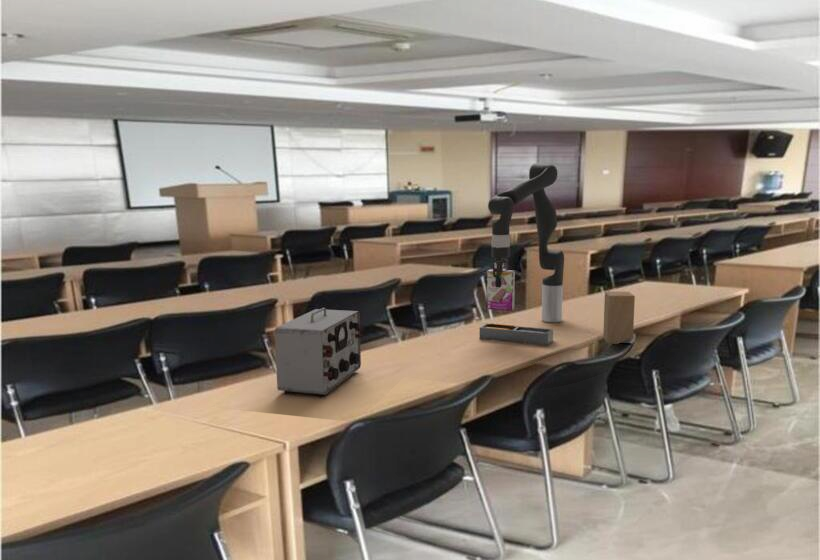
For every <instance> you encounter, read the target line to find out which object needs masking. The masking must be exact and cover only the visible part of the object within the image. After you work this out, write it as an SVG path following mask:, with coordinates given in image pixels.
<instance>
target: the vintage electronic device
mask: <svg viewBox="0 0 820 560" xmlns="http://www.w3.org/2000/svg"><path fill="white" fill-rule="evenodd" d="M360 316H361V315H360V311H358V310H344V309H342V310H339V309H327V308H325V307H322V308H320V309H319V308H315V309H313V310H311V311H309V312H306V313H304V314H302V315H300V316H298V317H296V318H294V319H292V320H289V321H287V322H285V323H282V324H280V325H279V326H276V327H275V329H274V343H275V344H274V347H275V365H276V366H275V367H276V368H275V369H276V389H277V391H282V392H284V394H286V395H288V394H289V395H290V394H292V393H303V394H315V395H317V397H318V398H319V397H320V398H324V397H325V396H326V395H327V394H328V393H330V392H331V391H333V390H334V389H335V388H336V387H337V386H339V385H340V384H341V383H343V382H344V381H345V380H347V379H348V378H349V377H351V376H352V375H354V374H355V373H356V372H357V371H358V370H359V369H361V366H362V358H361V357H362V355H361V354H362V353H361V352H362V351H361V339H363V338H364V334H362V333H361V332H363V331H364V327H361V319H360V318H361V317H360Z"/></svg>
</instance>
